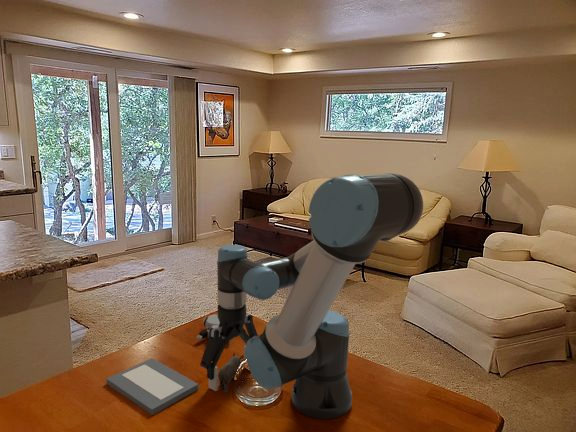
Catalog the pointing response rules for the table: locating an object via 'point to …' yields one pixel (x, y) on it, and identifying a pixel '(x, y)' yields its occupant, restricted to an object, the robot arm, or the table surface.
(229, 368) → the rhino figurine
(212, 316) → the robot toy
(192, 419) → the table surface
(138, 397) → the display plate
